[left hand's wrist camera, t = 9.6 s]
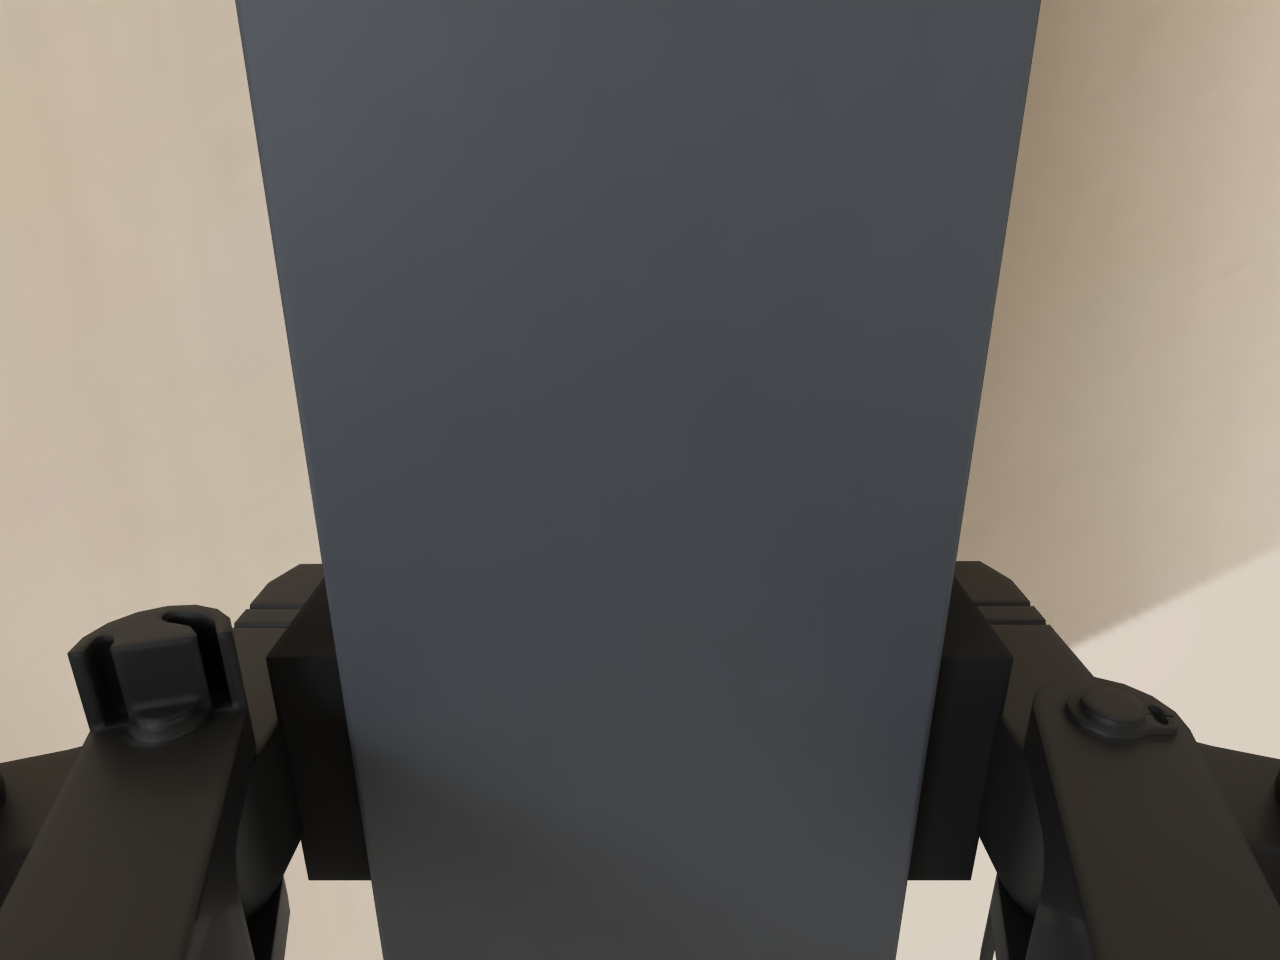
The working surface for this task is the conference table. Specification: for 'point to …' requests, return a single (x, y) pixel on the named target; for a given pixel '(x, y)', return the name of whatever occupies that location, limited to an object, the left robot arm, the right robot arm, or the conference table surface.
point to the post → (638, 444)
